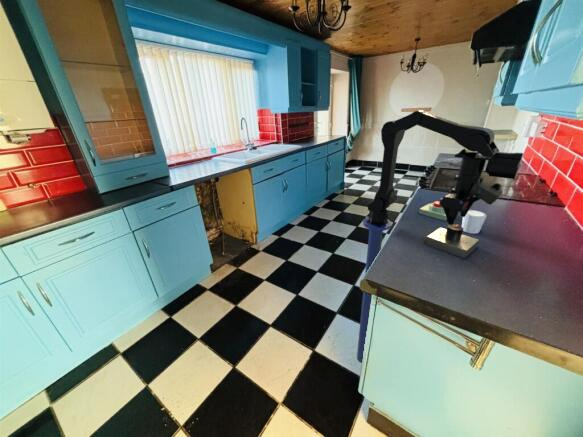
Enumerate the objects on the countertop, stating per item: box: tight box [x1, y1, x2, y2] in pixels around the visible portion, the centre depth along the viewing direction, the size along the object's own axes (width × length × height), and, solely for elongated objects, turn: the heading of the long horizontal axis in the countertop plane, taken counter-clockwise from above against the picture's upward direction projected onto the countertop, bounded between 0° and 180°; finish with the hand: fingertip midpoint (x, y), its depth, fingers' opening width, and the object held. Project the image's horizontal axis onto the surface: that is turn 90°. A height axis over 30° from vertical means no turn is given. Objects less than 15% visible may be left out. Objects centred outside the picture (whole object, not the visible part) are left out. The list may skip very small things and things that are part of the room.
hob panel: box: [425, 227, 480, 259], centre depth 80 cm, size 12×10×3 cm
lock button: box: [433, 200, 442, 208], centre depth 102 cm, size 4×4×2 cm
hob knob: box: [445, 224, 464, 241], centre depth 79 cm, size 4×4×4 cm
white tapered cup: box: [461, 209, 487, 234], centre depth 88 cm, size 7×7×7 cm
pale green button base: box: [418, 202, 447, 222], centre depth 103 cm, size 11×9×4 cm
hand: (456, 220), depth 77 cm, fingers open, 9 cm apart
